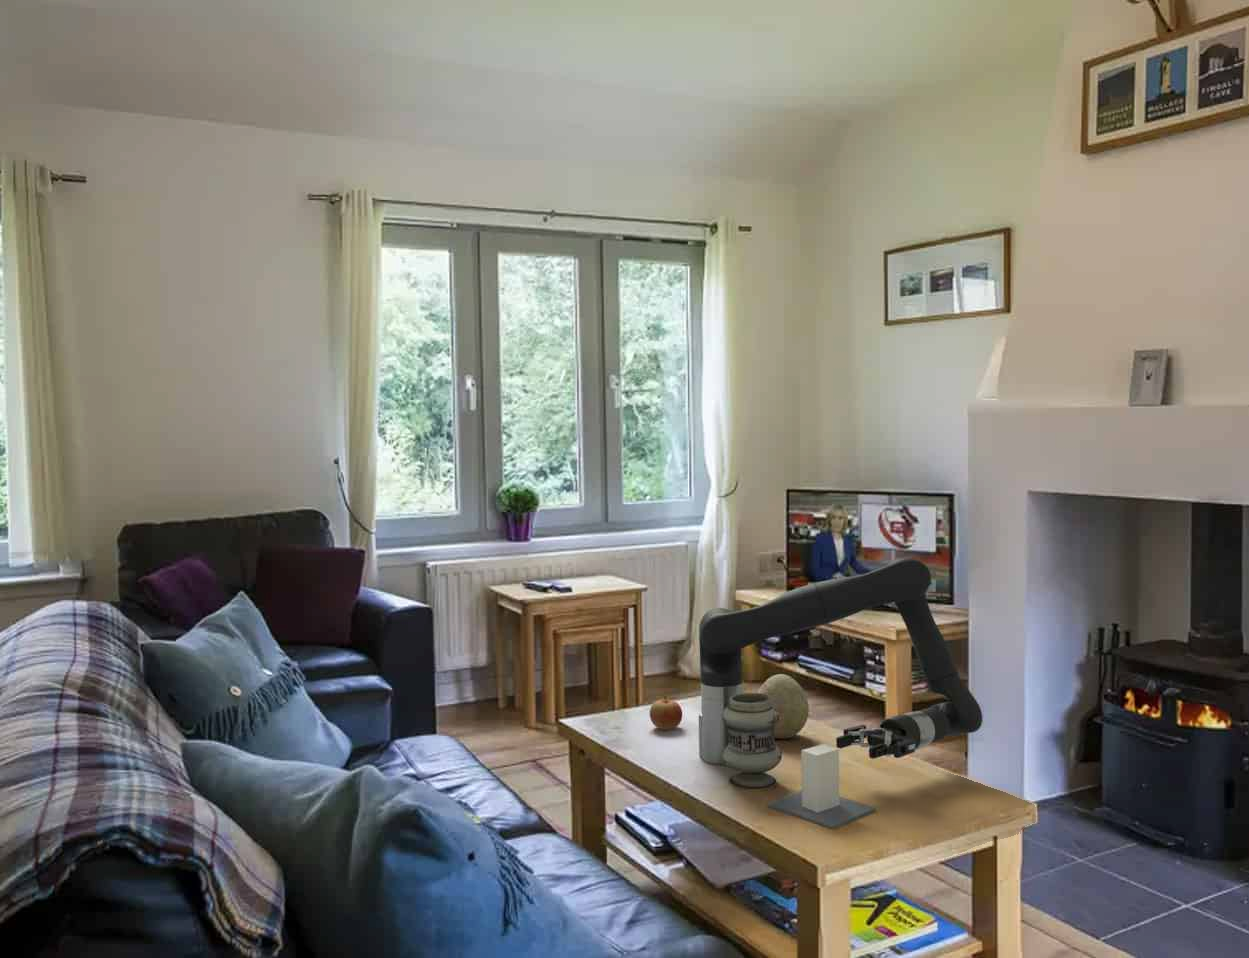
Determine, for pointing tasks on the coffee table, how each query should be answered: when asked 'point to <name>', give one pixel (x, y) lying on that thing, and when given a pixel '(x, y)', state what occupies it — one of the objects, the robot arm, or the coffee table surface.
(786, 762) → the coffee table surface
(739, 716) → the apothecary jar
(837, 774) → the tall cream pillar block
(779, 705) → the fossilized egg
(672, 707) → the apple
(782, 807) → the mat
